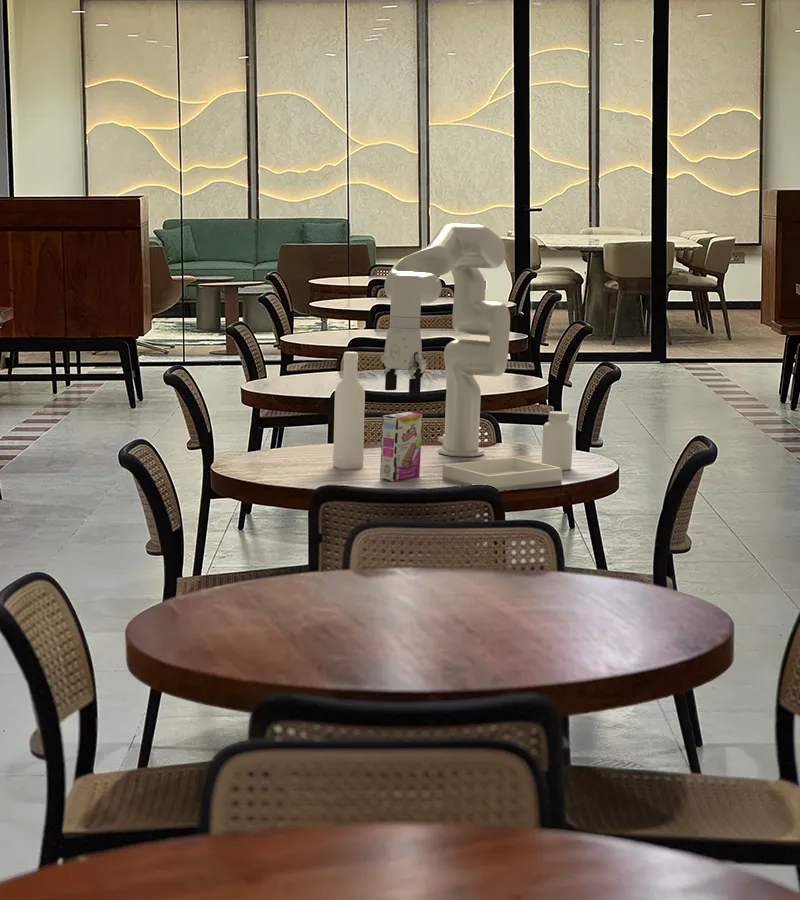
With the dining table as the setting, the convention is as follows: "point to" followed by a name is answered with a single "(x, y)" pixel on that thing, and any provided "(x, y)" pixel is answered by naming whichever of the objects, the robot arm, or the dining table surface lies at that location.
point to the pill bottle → (557, 440)
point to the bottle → (349, 417)
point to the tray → (503, 473)
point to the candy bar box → (401, 446)
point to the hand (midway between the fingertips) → (402, 392)
